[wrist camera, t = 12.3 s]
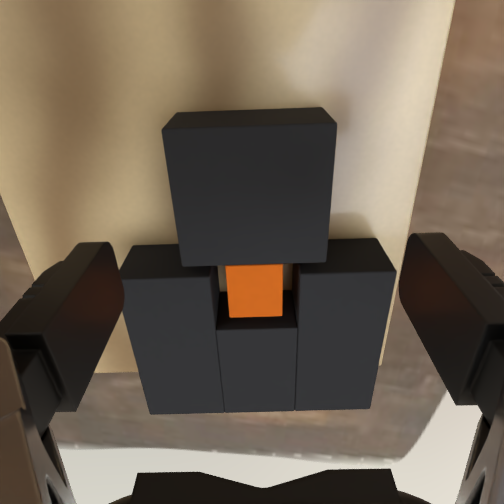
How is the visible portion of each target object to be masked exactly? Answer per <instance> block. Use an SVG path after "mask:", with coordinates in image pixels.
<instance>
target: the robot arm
mask: <svg viewBox="0 0 504 504" xmlns="http://www.w3.org/2000/svg"><path fill="white" fill-rule="evenodd" d="M399 296H400V300H401V303H402V305H403V307H404V309H405V311H406V313H407V315H408V317H409V319H410V320H411V322H412V324H413V326H414V328H415V330H416V332H417V334H418V335H419V337H420V339H421V341H422V343H423V345H424V347H425V349H426V350H427V352H428V354H429V356H430V358H431V360H432V362H433V363H434V365H435V367H436V369H437V371H438V373H439V375H440V377H441V378H442V380H443V382H444V384H445V386H446V388H447V390H448V392H449V393H450V395H451V397H452V399H453V401H454V403H455V404H456V405H478V406H479V408H480V410H481V412H482V413H483V414H482V416H481V418H480V420H479V422H478V425H477V429H476V433H475V436H474V440H473V444H472V447H471V451H470V454H469V458H468V462H467V465H466V469H465V473H464V476H463V480H462V484H461V487H460V490H459V494H458V497H457V500H456V503H455V504H504V282H503V281H502V280H501V279H500V278H499V277H498V276H495V273H494V272H493V271H492V270H491V269H490V268H489V267H488V266H487V265H486V264H485V263H484V262H483V261H482V260H480V259H478V258H477V257H475V256H473V255H471V254H470V253H468V252H466V251H464V250H459V249H458V248H457V247H456V246H455V244H454V243H453V242H452V241H451V240H450V239H449V238H448V237H447V236H446V235H445V234H444V233H413V234H411V235H410V237H409V239H408V242H407V246H406V251H405V256H404V261H403V265H402V270H401V275H400V280H399ZM123 306H124V287H123V284H122V280H121V276H120V272H119V268H118V264H117V261H116V257H115V253H114V249H113V247H112V245H111V244H110V243H109V242H80V243H78V244H77V245H76V246H75V247H74V248H73V250H72V251H71V252H70V253H69V255H68V256H67V257H66V258H65V260H64V261H59V262H57V263H56V264H54V265H53V266H51V267H50V268H48V269H47V270H45V271H44V272H42V274H41V275H40V276H39V277H38V278H37V279H36V281H35V282H34V283H33V284H32V288H29V289H28V290H27V291H26V292H25V293H24V295H23V298H22V299H19V300H18V302H17V303H16V304H15V305H14V306H13V307H12V309H11V310H10V311H9V312H8V313H7V314H6V316H5V317H4V318H3V319H2V320H1V321H0V504H76V502H75V499H74V496H73V493H72V490H71V487H70V484H69V481H68V478H67V474H66V471H65V468H64V465H63V462H62V459H61V456H60V453H59V449H58V446H57V443H56V440H55V437H54V434H53V431H52V429H51V427H50V425H49V423H50V421H51V419H52V417H53V415H54V413H55V412H76V410H77V408H78V406H79V404H80V402H81V399H82V397H83V395H84V393H85V391H86V389H87V386H88V384H89V382H90V380H91V378H92V375H93V373H94V371H95V369H96V367H97V365H98V362H99V360H100V358H101V356H102V354H103V352H104V349H105V347H106V345H107V343H108V341H109V338H110V336H111V334H112V332H113V330H114V328H115V325H116V323H117V321H118V319H119V317H120V315H121V312H122V310H123ZM109 504H431V503H429V502H427V501H424V500H423V499H420V498H418V497H415V496H413V495H410V494H407V493H405V492H401V491H397V488H396V485H395V482H394V478H393V475H392V472H391V469H339V470H325V471H322V472H318V473H315V474H312V475H308V476H305V477H302V478H299V479H295V480H292V481H289V482H286V483H282V484H279V485H275V486H272V487H268V488H259V487H254V486H251V485H247V484H243V483H239V482H235V481H232V480H228V479H224V478H220V477H216V476H213V475H209V474H205V473H202V472H162V473H161V472H158V473H137V477H136V481H135V485H134V489H133V493H132V495H129V496H126V497H123V498H121V499H119V500H116V501H114V502H112V503H109Z"/></svg>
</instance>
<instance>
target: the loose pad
mask: <svg viewBox="0 0 504 504" xmlns="http://www.w3.org/2000/svg"><path fill="white" fill-rule="evenodd" d="M161 132H162V139H163V146H164V152H165V159H166V165H167V172H168V178H169V185H170V191H171V198H172V204H173V211H174V217H175V224H176V230H177V237H178V243H179V250H180V256H181V263H182V266H184V267H186V266H220V265H225V270H226V282H227V294H228V306H229V316H230V317H231V318H233V317H269V316H282V306H283V264H286V263H319V262H326V260H327V248H328V236H329V224H330V211H331V199H332V187H333V175H334V162H335V150H336V138H337V122H336V121H335V120H334V119H333V118H332V117H331V116H330V115H329V114H328V113H327V112H326V110H325V109H324V108H322V107H310V108H282V109H254V110H225V111H197V112H177V113H175V115H174V116H173V117H172V118H171V119H170V120H169V121H168V123H167V124H166V125H165V126H164V127H163V128H162V130H161Z"/></svg>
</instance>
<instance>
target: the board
mask: <svg viewBox="0 0 504 504" xmlns="http://www.w3.org/2000/svg"><path fill="white" fill-rule="evenodd" d="M455 1H456V0H0V195H1V197H2V200H3V202H4V205H5V207H6V210H7V212H8V214H9V217H10V219H11V222H12V224H13V227H14V229H15V232H16V234H17V237H18V239H19V242H20V244H21V247H22V249H23V252H24V254H25V257H26V259H27V262H28V264H29V267H30V269H31V272H32V274H33V277H34V279H35V281H36V279H37V278H38V277H39V276H40V275H41V274H42V272H44V271H45V270H47V269H48V268H50V267H51V266H53V265H54V264H56V263H57V262H59V261H64V260H65V258H66V257H67V256H68V255H69V253H70V252H71V251H72V250H73V248H74V247H75V246H76V245H77V244H78V243H80V242H109V243H110V244H111V245H112V247H113V249H114V253H115V257H116V261H117V264H118V268H119V269H120V267H121V266H122V264H123V262H124V260H125V258H126V256H127V255H128V253H129V251H130V249H131V247H132V246H133V245H159V244H179V243H178V237H177V230H176V224H175V217H174V211H173V204H172V198H171V191H170V185H169V178H168V172H167V165H166V159H165V152H164V146H163V139H162V132H161V130H162V128H163V127H164V126H165V125H166V124H167V123H168V121H169V120H170V119H171V118H172V117H173V116H174V115H175V113H177V112H197V111H225V110H254V109H282V108H310V107H322V108H324V109H325V110H326V112H327V113H328V114H329V115H330V116H331V117H332V118H333V119H334V120H335V121H336V122H337V138H336V150H335V162H334V175H333V187H332V199H331V211H330V224H329V236H328V239H358V238H377V239H378V241H379V242H380V244H381V246H382V247H383V249H384V251H385V252H386V254H387V256H388V257H389V259H390V261H391V262H392V264H393V266H394V267H395V269H396V271H397V275H396V280H395V285H394V290H393V295H392V300H391V305H390V310H389V315H388V320H387V325H386V330H385V335H384V340H383V345H382V350H381V355H380V360H379V365H381V363H382V358H383V353H384V348H385V343H386V339H387V334H388V329H389V324H390V319H391V314H392V309H393V304H394V299H395V294H396V290H397V285H398V280H399V275H400V270H401V265H402V260H403V255H404V250H405V246H406V241H407V236H408V231H409V226H410V221H411V216H412V211H413V206H414V201H415V197H416V192H417V187H418V182H419V177H420V172H421V167H422V162H423V157H424V152H425V148H426V143H427V138H428V133H429V128H430V123H431V118H432V113H433V108H434V104H435V99H436V94H437V89H438V84H439V79H440V74H441V69H442V64H443V59H444V55H445V50H446V45H447V40H448V35H449V30H450V25H451V20H452V15H453V10H454V6H455ZM292 268H293V263H286V264H283V290H291V291H292ZM218 277H219V287H220V292H227V282H226V270H225V265H220V266H218ZM112 372H138V368H137V364H136V361H135V357H134V353H133V350H132V346H131V342H130V338H129V335H128V331H127V327H126V324H125V320H124V316H123V313H122V312H121V315H120V317H119V319H118V321H117V323H116V325H115V328H114V330H113V332H112V334H111V336H110V338H109V341H108V343H107V345H106V347H105V349H104V352H103V354H102V356H101V358H100V360H99V362H98V365H97V367H96V369H95V371H94V373H112Z"/></svg>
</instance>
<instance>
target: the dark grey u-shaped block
mask: <svg viewBox="0 0 504 504" xmlns="http://www.w3.org/2000/svg"><path fill="white" fill-rule="evenodd" d="M119 272H120V276H121V280H122V284H123V287H124V306H123V310H122V313H123V316H124V320H125V324H126V327H127V331H128V335H129V338H130V342H131V346H132V350H133V353H134V357H135V361H136V364H137V368H138V372H139V375H140V379H141V383H142V386H143V390H144V394H145V397H146V401H147V405H148V409H149V412H150V414H151V415H152V414H192V413H224V412H225V413H233V412H273V411H294V410H296V411H305V410H345V409H370V406H371V401H372V396H373V391H374V385H375V380H376V375H377V370H378V365H379V360H380V355H381V350H382V345H383V340H384V335H385V330H386V325H387V320H388V315H389V310H390V305H391V300H392V295H393V290H394V285H395V280H396V275H397V271H396V269H395V267H394V266H393V264H392V262H391V261H390V259H389V257H388V256H387V254H386V252H385V251H384V249H383V247H382V246H381V244H380V242H379V241H378V239H377V238H358V239H328V248H327V260H326V262H319V263H293V268H292V291H291V290H283V306H282V316H269V317H233V318H231V317H230V316H229V306H228V294H227V292H220V287H219V277H218V266H186V267H184V266H182V263H181V256H180V250H179V244H159V245H133V246H132V247H131V249H130V251H129V253H128V255H127V256H126V258H125V260H124V262H123V264H122V266H121V267H120V269H119Z"/></svg>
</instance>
